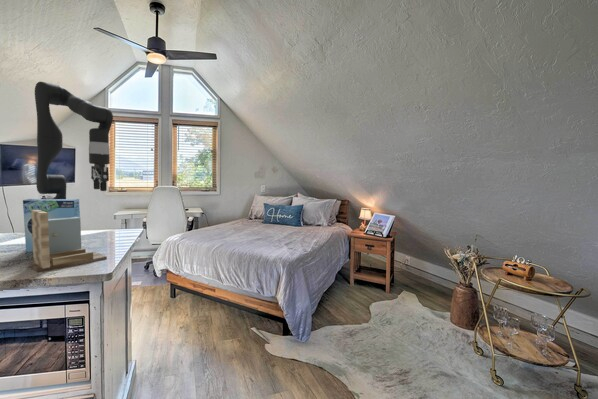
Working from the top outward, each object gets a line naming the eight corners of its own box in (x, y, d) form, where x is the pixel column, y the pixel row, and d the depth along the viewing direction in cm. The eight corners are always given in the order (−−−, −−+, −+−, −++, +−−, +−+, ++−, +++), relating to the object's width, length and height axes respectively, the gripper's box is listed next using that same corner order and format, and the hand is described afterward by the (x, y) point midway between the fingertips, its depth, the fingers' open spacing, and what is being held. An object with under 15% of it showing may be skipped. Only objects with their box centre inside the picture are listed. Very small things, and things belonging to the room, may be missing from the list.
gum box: (81, 248, 139) (80, 199, 137) (76, 251, 134) (74, 200, 132) (32, 249, 135) (29, 198, 133) (24, 252, 130) (22, 199, 128)
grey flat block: (43, 258, 122) (41, 219, 120) (77, 252, 132) (76, 216, 130) (47, 261, 119) (45, 221, 118) (82, 255, 129) (81, 218, 127)
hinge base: (29, 265, 113) (26, 210, 111) (95, 254, 131) (94, 206, 129) (38, 272, 106) (35, 213, 105) (106, 258, 124) (105, 208, 122)
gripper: (84, 152, 133) (84, 189, 134) (94, 152, 123) (95, 191, 125) (103, 153, 138) (104, 188, 140) (115, 153, 129) (115, 191, 131)
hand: (100, 190), depth 132 cm, fingers open, 8 cm apart
